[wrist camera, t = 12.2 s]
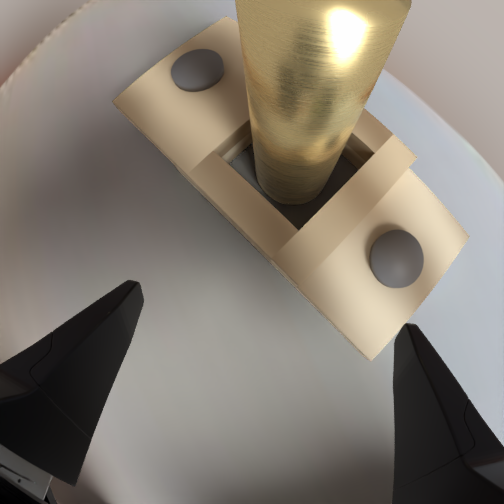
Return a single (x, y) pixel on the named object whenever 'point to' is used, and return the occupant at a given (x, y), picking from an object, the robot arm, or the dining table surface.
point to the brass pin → (310, 83)
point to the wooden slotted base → (327, 218)
